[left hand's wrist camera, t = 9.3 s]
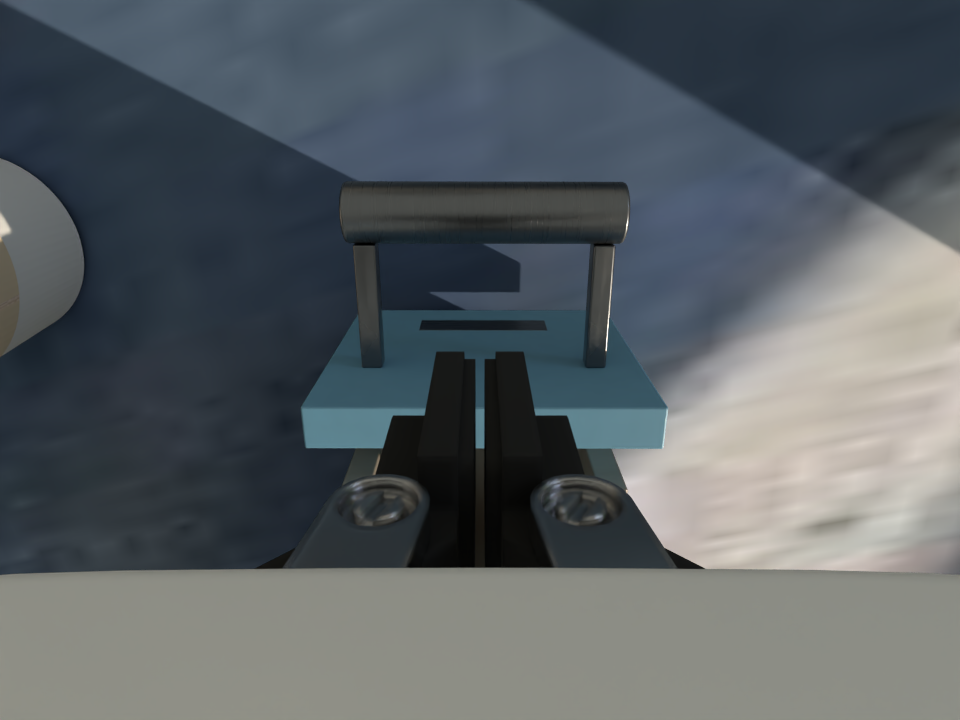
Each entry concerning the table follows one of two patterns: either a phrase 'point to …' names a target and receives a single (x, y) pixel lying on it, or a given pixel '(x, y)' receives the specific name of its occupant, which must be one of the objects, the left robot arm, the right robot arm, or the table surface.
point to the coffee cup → (34, 257)
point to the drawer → (485, 324)
